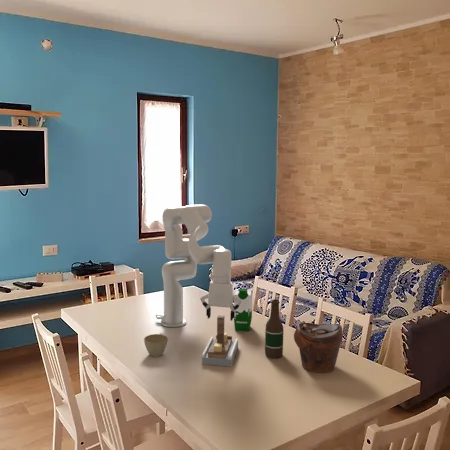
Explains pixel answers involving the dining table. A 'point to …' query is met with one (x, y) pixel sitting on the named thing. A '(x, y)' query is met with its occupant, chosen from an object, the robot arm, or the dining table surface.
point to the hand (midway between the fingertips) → (220, 318)
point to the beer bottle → (274, 333)
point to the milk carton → (243, 310)
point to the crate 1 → (217, 347)
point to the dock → (220, 361)
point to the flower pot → (155, 344)
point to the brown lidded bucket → (318, 345)
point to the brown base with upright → (220, 340)
